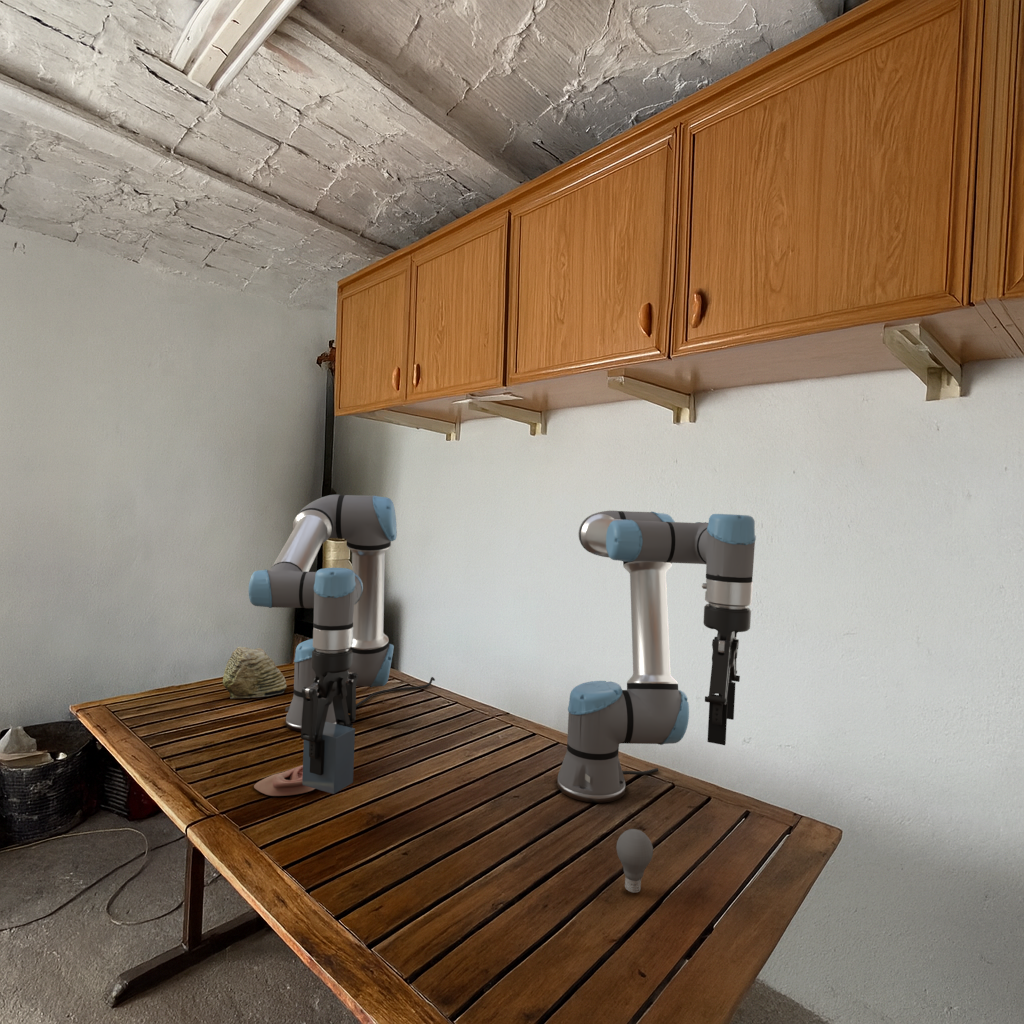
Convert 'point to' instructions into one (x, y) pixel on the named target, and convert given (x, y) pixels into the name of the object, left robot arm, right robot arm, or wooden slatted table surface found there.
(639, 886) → the light bulb
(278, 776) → the anatomical model
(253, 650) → the fossil
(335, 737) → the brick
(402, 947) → the wooden slatted table surface
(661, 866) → the wooden slatted table surface
